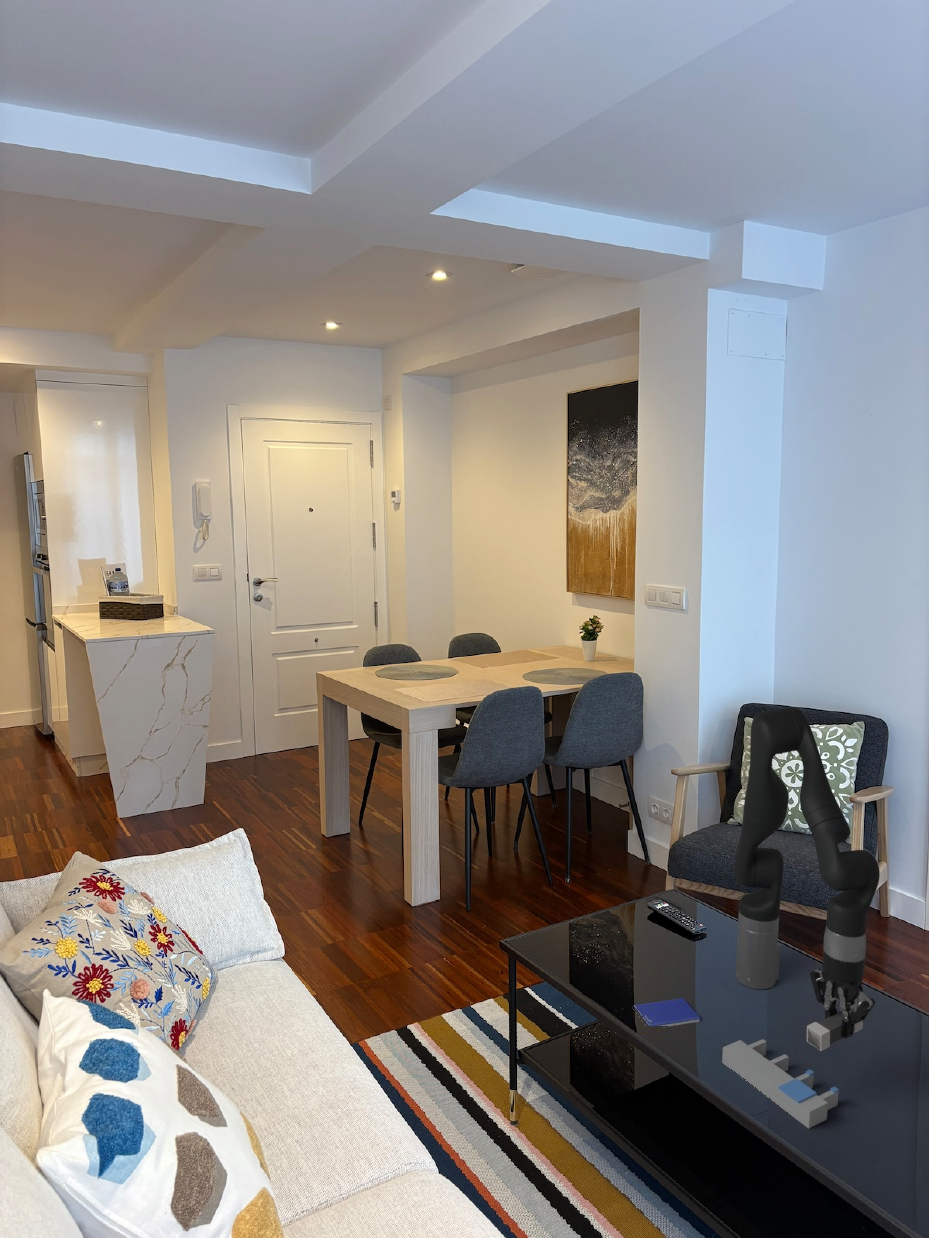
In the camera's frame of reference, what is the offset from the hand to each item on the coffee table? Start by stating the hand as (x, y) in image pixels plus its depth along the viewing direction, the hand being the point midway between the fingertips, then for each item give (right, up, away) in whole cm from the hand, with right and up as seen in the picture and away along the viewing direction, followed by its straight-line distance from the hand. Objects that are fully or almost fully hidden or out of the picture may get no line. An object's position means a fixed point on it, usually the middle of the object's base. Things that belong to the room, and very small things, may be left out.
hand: (838, 1031), depth 177 cm
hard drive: (-28, -9, +27) cm, 40 cm away
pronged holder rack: (-10, -12, +3) cm, 16 cm away
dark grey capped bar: (-1, -1, 0) cm, 1 cm away
